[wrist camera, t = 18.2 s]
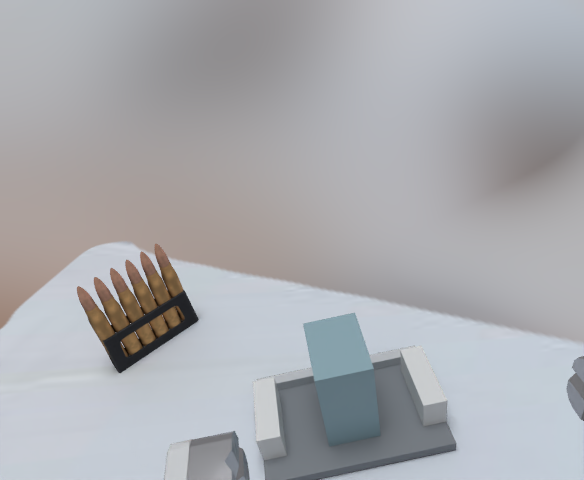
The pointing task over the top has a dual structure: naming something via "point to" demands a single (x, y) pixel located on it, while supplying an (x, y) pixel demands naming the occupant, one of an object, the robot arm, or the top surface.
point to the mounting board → (363, 453)
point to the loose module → (343, 379)
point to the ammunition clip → (139, 311)
